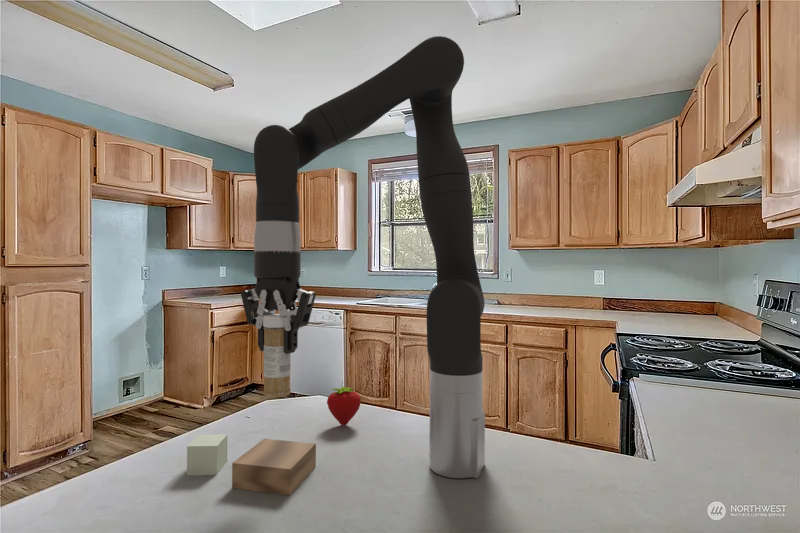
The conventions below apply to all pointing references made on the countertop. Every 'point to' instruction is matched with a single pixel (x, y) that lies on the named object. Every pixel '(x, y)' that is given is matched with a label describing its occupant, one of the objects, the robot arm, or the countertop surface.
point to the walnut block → (274, 466)
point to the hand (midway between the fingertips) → (277, 351)
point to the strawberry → (343, 404)
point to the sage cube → (206, 455)
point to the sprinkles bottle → (275, 358)
